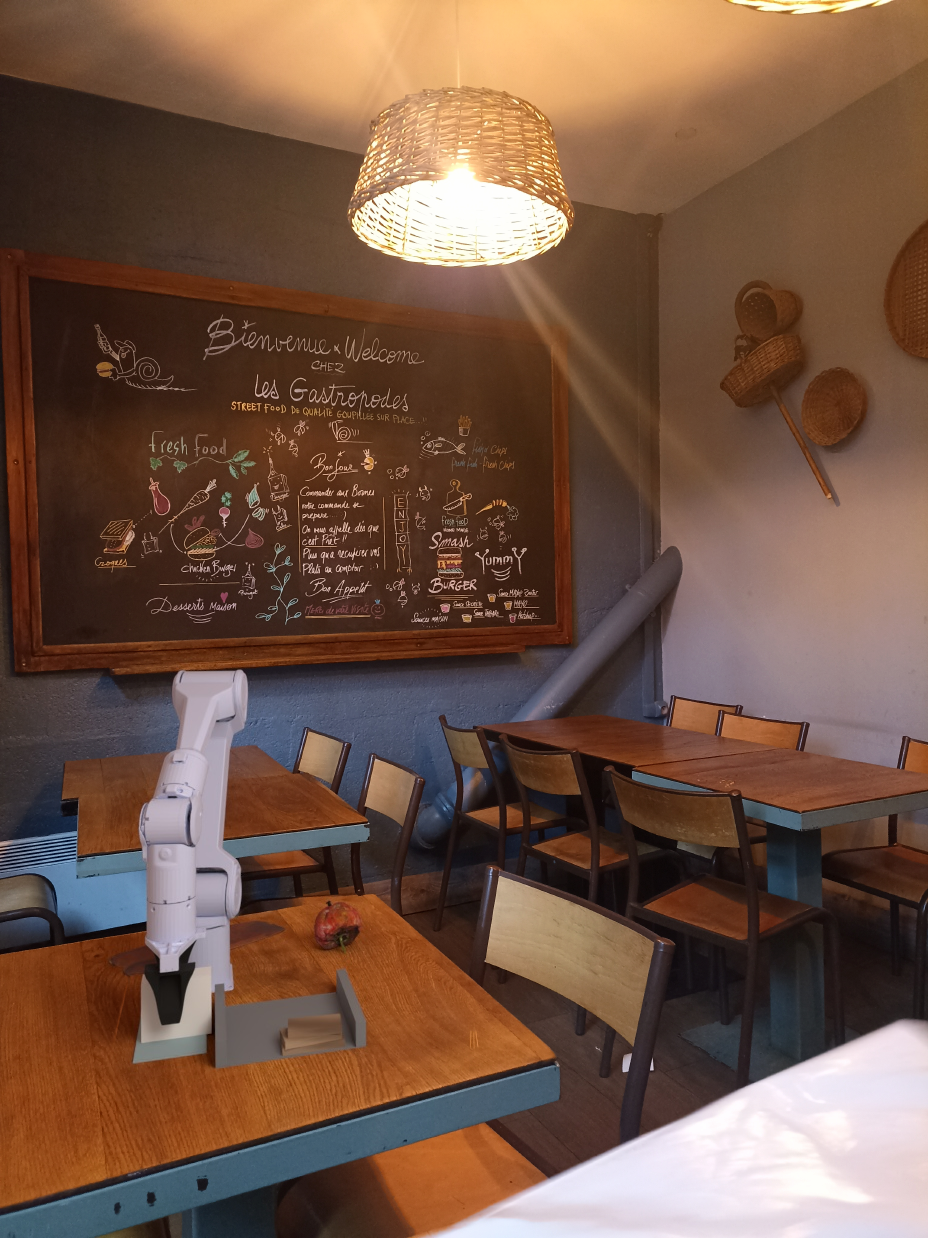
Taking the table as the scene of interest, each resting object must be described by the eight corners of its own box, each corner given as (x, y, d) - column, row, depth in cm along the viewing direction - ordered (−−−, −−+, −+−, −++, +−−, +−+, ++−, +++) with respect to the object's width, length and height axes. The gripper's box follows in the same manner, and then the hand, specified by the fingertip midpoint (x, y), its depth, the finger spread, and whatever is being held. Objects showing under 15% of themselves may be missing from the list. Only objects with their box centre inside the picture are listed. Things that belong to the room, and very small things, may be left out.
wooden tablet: (134, 985, 121) (134, 973, 121) (104, 966, 128) (104, 954, 128) (293, 935, 140) (292, 925, 140) (259, 920, 147) (259, 911, 147)
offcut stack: (279, 1040, 102) (279, 1020, 102) (340, 1031, 104) (339, 1011, 104) (282, 1057, 98) (282, 1036, 98) (345, 1048, 100) (345, 1027, 100)
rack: (214, 1011, 111) (214, 984, 111) (345, 994, 116) (345, 968, 116) (215, 1073, 96) (215, 1041, 96) (366, 1050, 101) (365, 1020, 101)
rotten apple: (368, 964, 132) (355, 909, 140) (368, 937, 128) (355, 882, 135) (320, 975, 130) (310, 919, 138) (319, 948, 126) (308, 891, 133)
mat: (140, 1021, 109) (140, 1016, 109) (206, 1012, 111) (206, 1008, 111) (132, 1067, 97) (132, 1062, 97) (206, 1057, 99) (206, 1052, 99)
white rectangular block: (143, 1031, 104) (142, 974, 105) (211, 1022, 107) (211, 966, 107) (141, 1043, 102) (141, 984, 102) (211, 1033, 104) (211, 975, 104)
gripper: (205, 912, 98) (206, 1031, 98) (206, 877, 112) (206, 981, 112) (140, 919, 96) (140, 1040, 96) (149, 882, 110) (149, 988, 110)
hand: (172, 1009), depth 104 cm, fingers open, 7 cm apart
